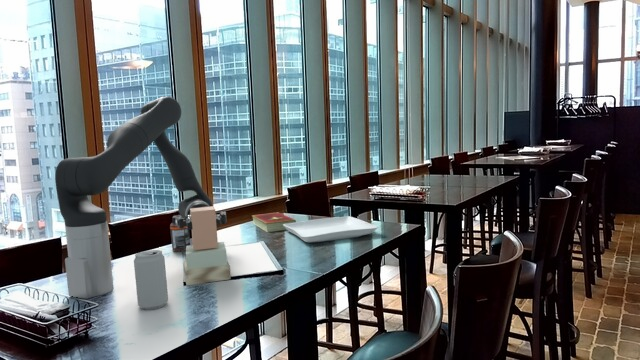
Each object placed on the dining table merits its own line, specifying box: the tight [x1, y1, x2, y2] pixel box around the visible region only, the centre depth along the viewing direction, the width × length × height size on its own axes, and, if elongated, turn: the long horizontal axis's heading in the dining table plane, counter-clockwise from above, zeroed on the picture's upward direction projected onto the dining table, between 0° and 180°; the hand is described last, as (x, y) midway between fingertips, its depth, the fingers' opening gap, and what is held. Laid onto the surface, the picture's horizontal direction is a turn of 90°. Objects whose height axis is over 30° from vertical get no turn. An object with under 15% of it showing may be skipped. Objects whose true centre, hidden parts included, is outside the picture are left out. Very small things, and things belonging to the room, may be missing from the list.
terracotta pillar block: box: [190, 206, 219, 250], centre depth 126 cm, size 6×6×10 cm
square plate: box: [283, 215, 379, 243], centre depth 172 cm, size 27×27×4 cm
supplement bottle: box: [169, 214, 191, 252], centre depth 159 cm, size 6×6×11 cm
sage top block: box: [185, 241, 228, 270], centre depth 127 cm, size 10×10×4 cm
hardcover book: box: [251, 211, 297, 233], centre depth 192 cm, size 12×21×4 cm, turn 23°
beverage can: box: [133, 249, 169, 310], centre depth 106 cm, size 6×6×12 cm
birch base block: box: [182, 260, 232, 286], centre depth 127 cm, size 11×11×4 cm
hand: (204, 224), depth 124 cm, fingers closed on terracotta pillar block, 6 cm apart
